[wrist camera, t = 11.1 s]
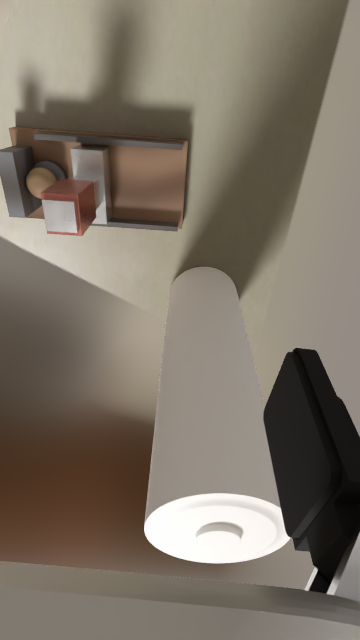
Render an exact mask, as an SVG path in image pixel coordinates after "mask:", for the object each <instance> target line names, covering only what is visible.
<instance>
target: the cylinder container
mask: <svg viewBox="0 0 360 640" xmlns="http://www.w3.org/2000/svg"><path fill="white" fill-rule="evenodd" d="M264 409H265V406H264V402H263V398H262V393H261V390H260V385H259V381H258V377H257V373H256V369H255V364H254V360H253V356H252V352H251V348H250V344H249V340H248V335H247V331H246V327H245V323H244V319H243V315H242V311H241V306H240V302H239V298H238V294H237V290H236V287H235V284H234V282H233V281H232V279H231V278H230V277H229V276H228V275H227V274H225V273H224V272H222V271H221V270H218V269H216V268H212V267H196V268H192V269H189V270H187V271H185V272H183V273H182V274H180V275H179V276H178V277H177V278H176V279H175V280H174V282H173V283H172V285H171V287H170V290H169V296H168V305H167V315H166V325H165V335H164V344H163V353H162V363H161V372H160V382H159V391H158V401H157V411H156V420H155V430H154V439H153V449H152V458H151V468H150V477H149V488H148V497H147V507H146V515H145V525H144V531H145V535H146V537H147V539H148V540H149V541H150V543H152V544H153V545H154V546H155V547H156V548H158V549H159V550H161V551H163V552H165V553H167V554H169V555H172V556H175V557H178V558H181V559H185V560H190V561H195V562H204V563H232V562H240V561H247V560H251V559H255V558H259V557H262V556H265V555H267V554H270V553H272V552H274V551H276V550H277V549H279V548H280V547H282V546H283V545H284V544H286V542H288V540H289V539H290V538H291V537H288V535H287V534H286V531H285V527H284V522H283V517H282V512H281V507H280V502H279V496H278V491H277V486H276V481H275V476H274V471H273V466H272V461H271V456H270V451H269V446H268V441H267V436H266V431H265V426H264V421H263V413H264Z"/></svg>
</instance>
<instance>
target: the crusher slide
mask: <svg viewBox="0 0 360 640" xmlns="http://www.w3.org/2000/svg"><path fill="white" fill-rule="evenodd" d="M71 159H72V168H73V178H72V179H60V180H59V181H57V182H56V183H54V184H53V185H51V186H50V187H48V188H47V189H45V190H43V191H42V192H41V198H42V205H43V211H44V217H45V223H46V229H47V234H62V235H76V236H82V235H83V234H84V233H85V231H86V230H87V229H88V227H89V226H90V225H91V224H92V223H93V224H107V223H108V222H109V220H110V219H111V217H112V200H111V180H110V161H109V147H102V146H88V145H78V146H76V147H73V148H71Z"/></svg>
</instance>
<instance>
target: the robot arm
mask: <svg viewBox="0 0 360 640" xmlns="http://www.w3.org/2000/svg"><path fill="white" fill-rule="evenodd" d="M263 421H264V426H265V431H266V436H267V441H268V446H269V451H270V456H271V461H272V466H273V471H274V476H275V481H276V486H277V491H278V496H279V502H280V507H281V512H282V517H283V522H284V527H285V531H286V534H287V535H288V537H293V542H294V547H295V550H299V551H310V553H311V558H312V562H313V565H314V566H315V569H314V571H313V573H312V575H311V577H310V580H309V581H308V584H307V586H306V588H305V590H301V589H291V588H283V587H274V586H265V585H256V584H247V583H237V582H228V581H218V580H207V579H195V578H185V577H173V576H163V575H152V574H141V573H130V572H119V571H108V570H96V569H84V568H73V567H62V566H50V565H38V564H27V563H15V562H4V561H0V640H360V437H359V435H358V432H357V430H356V428H355V426H354V424H353V422H352V419H351V417H350V415H349V413H348V411H347V409H346V406H345V404H344V403H343V401H342V400H341V399H340V398H339V397H337V395H336V393H335V391H334V388H333V386H332V384H331V382H330V379H329V377H328V375H327V373H326V370H325V368H324V366H323V364H322V362H321V359H320V357H319V355H318V353H317V352H316V351H315V350H310V349H301V348H295V349H294V350H293V352H288V353H287V354H286V356H285V359H284V361H283V364H282V366H281V369H280V371H279V374H278V376H277V379H276V381H275V384H274V386H273V389H272V391H271V394H270V396H269V399H268V402H267V404H266V406H265V409H264V413H263Z"/></svg>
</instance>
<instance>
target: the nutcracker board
mask: <svg viewBox="0 0 360 640" xmlns="http://www.w3.org/2000/svg"><path fill="white" fill-rule="evenodd" d="M9 131H10V136H11V141H12V146H11V147H8V148H5V149H1V150H0V176H1V181H2V185H3V189H4V194H5V198H6V203H7V207H8V212H9V216H10V217H20V218H26V217H27V218H39V219H45V217H44V211H43V205H42V198H41V192H42V191H43V190H45V189H47V188H48V187H50V186H51V185H53V184H54V183H56V182H57V181H59V180H60V179H72V178H73V168H72V159H71V148H73V147H76V146H78V145H88V146H102V147H109V161H110V180H111V200H112V217H111V219H110V220H109V222H108V223H107V224H93V223H92V224H91V225H93V226H107V227H121V228H136V229H150V230H164V231H177V229H178V228H181V229H182V220H183V205H184V191H185V176H186V161H187V147H188V140H184V139H171V138H157V137H144V136H131V135H117V134H104V133H90V132H77V131H64V130H50V129H37V128H24V127H12V128H9Z"/></svg>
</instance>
